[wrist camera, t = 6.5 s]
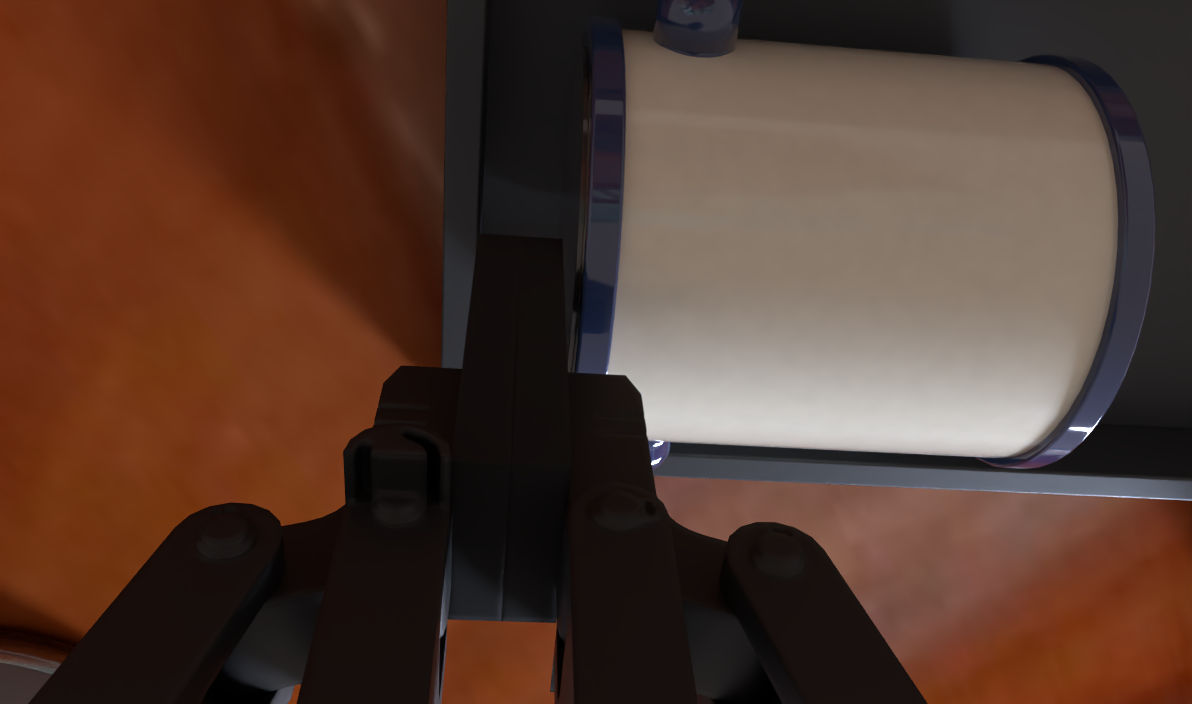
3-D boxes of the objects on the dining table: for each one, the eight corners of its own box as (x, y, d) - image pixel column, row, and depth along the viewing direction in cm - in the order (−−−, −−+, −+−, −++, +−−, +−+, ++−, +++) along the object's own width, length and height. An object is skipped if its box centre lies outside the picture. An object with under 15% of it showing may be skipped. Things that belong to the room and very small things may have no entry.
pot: (546, 364, 28) (547, 596, 21) (583, -107, 22) (605, -16, 15) (900, 383, 29) (1024, 613, 22) (1034, -64, 23) (1271, 42, 15)
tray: (448, 400, 30) (438, 467, 27) (461, -216, 21) (450, -207, 19) (1281, 443, 32) (1348, 508, 29) (1580, -101, 24) (1710, -78, 21)
